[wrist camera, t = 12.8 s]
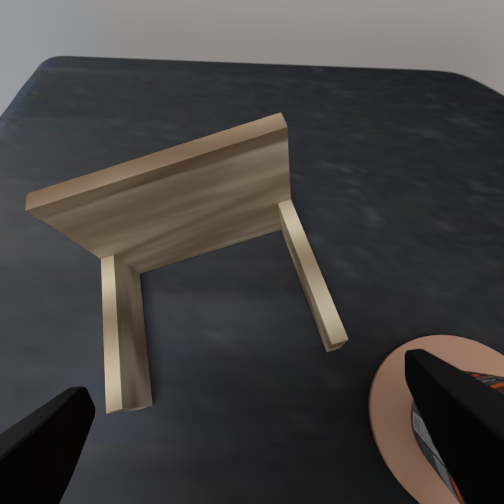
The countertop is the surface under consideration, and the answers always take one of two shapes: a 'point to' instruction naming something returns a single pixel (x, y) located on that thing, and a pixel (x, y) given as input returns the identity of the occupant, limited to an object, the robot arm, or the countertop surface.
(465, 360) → the peach rounded disc
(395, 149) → the countertop surface
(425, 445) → the supplement bottle
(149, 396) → the wooden bench
